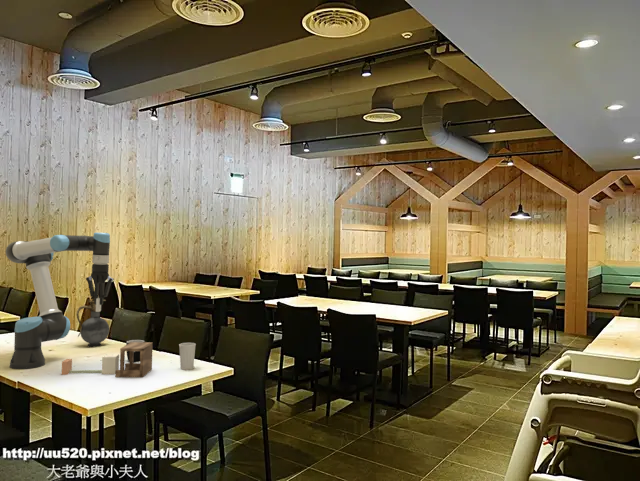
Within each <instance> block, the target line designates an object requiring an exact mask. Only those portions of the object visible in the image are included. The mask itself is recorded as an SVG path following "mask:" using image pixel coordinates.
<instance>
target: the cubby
mask: <svg viewBox="0 0 640 481" xmlns="http://www.w3.org/2000/svg"><path fill="white" fill-rule="evenodd" d="M127 351H130V355H129V361H128V362H125V361H126V360H125V359H126V357H125V355H126V354H125V353H126V352H127ZM134 351H140V361H139V362H133V358H134ZM152 369H153V342H150V341H149V342H147V341H144V342H130V343H129V344H127V345H126V344H125V345H124V346H122V347H121V348H120V352H119V370H116V371H115V374H114V375H115V378H144V377H145V376H146V375H147V374H149V373H150V372H151V371H152Z"/></svg>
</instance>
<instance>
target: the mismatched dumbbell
mask: <svg viewBox="0 0 640 481" xmlns="http://www.w3.org/2000/svg"><path fill="white" fill-rule="evenodd" d="M101 358H102V359H101V369H73V358H66V359H64V360H63V361H61V376H63V375H64V376H65V375H67V376H68V375H69V374H101V375H115V371H116V370H120V353H119V354H118V353H116V354H115V353H113V354H105V355H103V356H102V357H101Z"/></svg>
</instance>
